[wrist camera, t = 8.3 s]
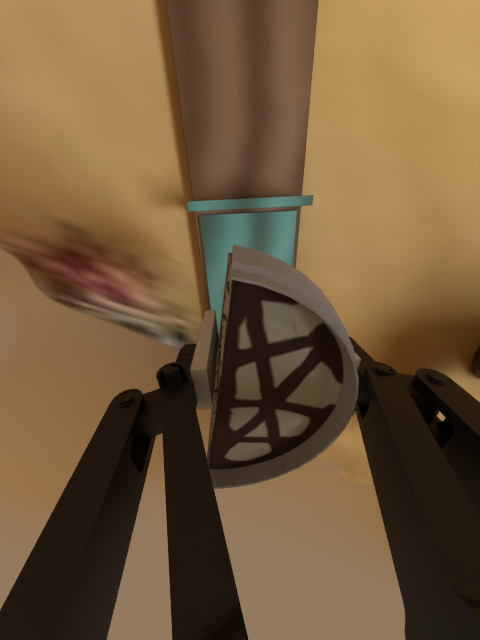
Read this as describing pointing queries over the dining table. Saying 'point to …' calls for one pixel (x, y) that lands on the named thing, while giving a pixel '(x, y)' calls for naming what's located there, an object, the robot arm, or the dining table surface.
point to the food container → (276, 373)
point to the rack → (244, 124)
